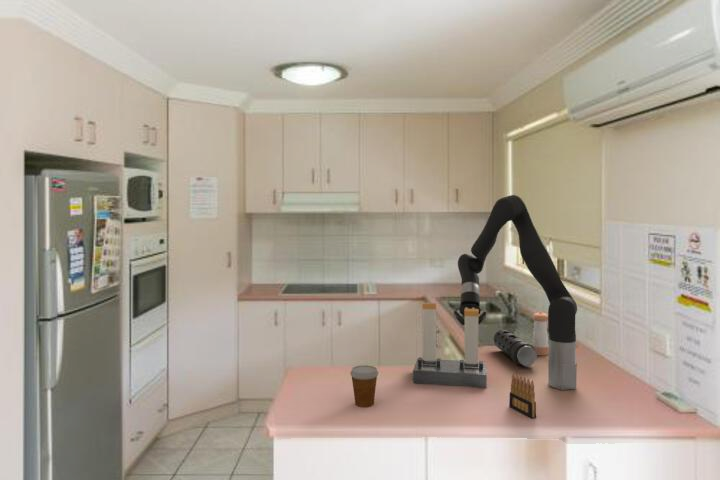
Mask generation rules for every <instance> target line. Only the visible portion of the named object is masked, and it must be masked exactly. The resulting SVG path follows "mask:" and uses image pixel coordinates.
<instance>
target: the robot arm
mask: <svg viewBox="0 0 720 480" xmlns="http://www.w3.org/2000/svg"><path fill="white" fill-rule="evenodd" d="M510 221H511V222H512V224H513V225H514V227H515V229H516V231H517V235H518V243H519V245H518V246H519V253H520V255H521V258H522V260H523V262H524V264H525V266H526V267H527V270H528V271H529V272H530V274H531V275H532V276H533V278H534V279H535V281H536V282H538V284H539V285H540V287H541V288H542V289H543V292H544V294H545V295H546V297H547V300H548V302H549V305H548V309H547V311H548V312H547V315H548V321H547V333H548V346H549V354H548V372H547V374H548V377H547V378H548V381H547V383H548V386H550V387H551V388H553V389H558V390H561V391H567V390H577V373H578V372H577V371H578V370H577V369H578V367H577V366H578V364H577V362H576V356H577V355H576V353H577V352H576V346H577V342H576V341H577V333H576V314H577V312H578V304H577V303H576V301H575V299H574V297H572V295H571V294H570V292H569V291H568V289H567V288H566V286H565V285H564V283H563V281H562V279H561V277H560V274H559V272H558V269H557V268H556V265H555V263H554V261H553V259H552V257H551V255H550V254H549V251H548V250H547V247H546V246H545V244H544V242H543V241H542V239H541V237H540V235H539V233H538V231H537V228H535V225H534V223H533V221H532V218H531V216H530V213H529V210H528V208H527V206H526V203H525V201H523V199H522V198H521V197H520V196H519V195H516V194H511V195H508V196H504V197H501V198H500V199H498V200H496V202H495V203H494V204H493V206H492V209H491V211H490V214H489V216H488V219H487V220H486V223H485V225H484V227H483V229H482V231H481V232H480V234H479V235H478V237H477V238H476V239H475V242H474V243H473V245H472V246H471V248H470V253H471V254H472V255H471V254H468V253H463V254H461V255H460V256H459V258H458V260H457V268H458V271H459V276H460V278H461V287H460V301H459V302H460V305H459V308H458V310H454V311H453V316H454V318H455V319H456V320H457V321H458V322H459V323H460V325H462V326H465V316H464V309H479V317H478V326H479V325H480V324H481V323H482V322H483V321H484V320H485V319H486V318H487V312H486V311H483V310H482V308H481V302H480V301H481V293H480V291H481V290H480V277H479V275H478V274H480V273H481V272H482V271H483V269H484V265H485V261H486V259H487V257H488V255H489V254H490V252H491V250H492V249H493V247H494V246H495V244H496V242H497V238H498V234H499V232H500V231H501V229H502V228H503V227H504V226H505V225H506V224H507V223H508V222H510Z"/></svg>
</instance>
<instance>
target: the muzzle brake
mask: <svg viewBox="0 0 720 480" xmlns="http://www.w3.org/2000/svg"><path fill="white" fill-rule="evenodd" d="M493 344H494V345H495V346H496V347H497V348H498V349H499V350H500V351H501V352H503V353H504V354H506V356H508V357H509V358H511V359H512V360H513V362H515V363H516V364H517V365H518V366H521V367H531V366H533V364H535V363H536V362H537V356H538V355H537V354H536V350H535V348H534V347H533V346H532V344H530V343H529V342H527V341H524V340H522V339H521V338H520V337H518V336H517V335H515V334H513V333H512V332H510V331H509V330H507V329H499V330H498V331H496V333H495V334H494V335H493Z"/></svg>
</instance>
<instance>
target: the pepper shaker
mask: <svg viewBox="0 0 720 480" xmlns="http://www.w3.org/2000/svg"><path fill="white" fill-rule="evenodd" d="M532 320H533V333H532V344H531V345H532V346H533V347H534V348H535V350H536V354H537V356H549V334H548V313H545V312H543V311H541V310H540V311H539V312H535V313H533V314H532Z"/></svg>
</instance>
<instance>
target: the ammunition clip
mask: <svg viewBox="0 0 720 480" xmlns="http://www.w3.org/2000/svg"><path fill="white" fill-rule="evenodd" d="M510 383H511V384H510V391H509V404H508V405H509V406H508V407H509V408H510V409H512V410H514V411H516V412H517V413H520V414H522V415H523V416H526V417H527V418H529V419H531V420H533V419H537V405H536V403H537V402H536V393H535V382H534V380H531V381H530V378H527V379H526V376H524V377H523V375H520V376H519V374H518V373H515V371H512V374H511V382H510Z"/></svg>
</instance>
